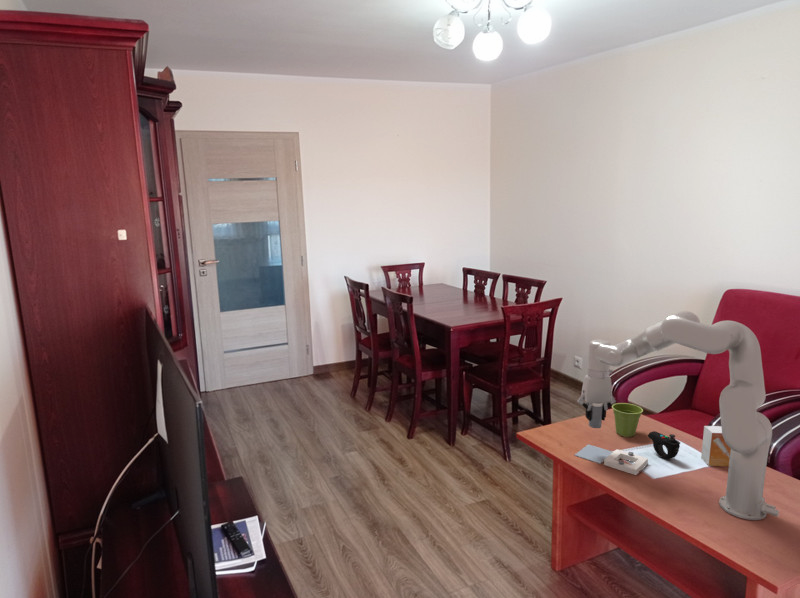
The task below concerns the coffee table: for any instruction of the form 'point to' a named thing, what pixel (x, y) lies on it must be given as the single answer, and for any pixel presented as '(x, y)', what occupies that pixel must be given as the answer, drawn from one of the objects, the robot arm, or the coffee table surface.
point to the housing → (620, 465)
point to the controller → (664, 440)
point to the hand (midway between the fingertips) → (595, 418)
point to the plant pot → (626, 418)
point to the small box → (715, 447)
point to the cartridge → (596, 415)
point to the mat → (593, 453)
